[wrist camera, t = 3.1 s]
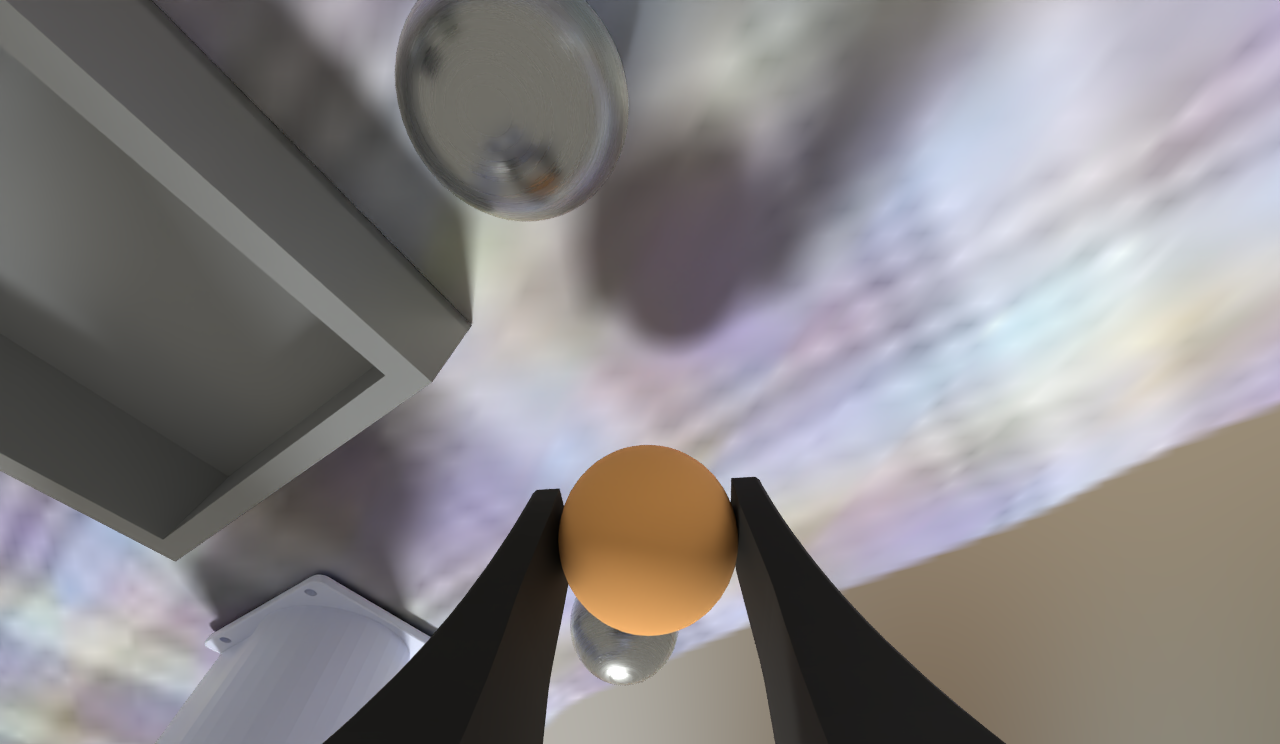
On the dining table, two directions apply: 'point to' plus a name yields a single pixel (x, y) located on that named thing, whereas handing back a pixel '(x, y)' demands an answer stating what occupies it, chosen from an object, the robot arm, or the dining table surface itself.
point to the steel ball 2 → (617, 649)
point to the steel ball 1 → (513, 102)
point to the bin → (180, 283)
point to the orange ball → (648, 540)
